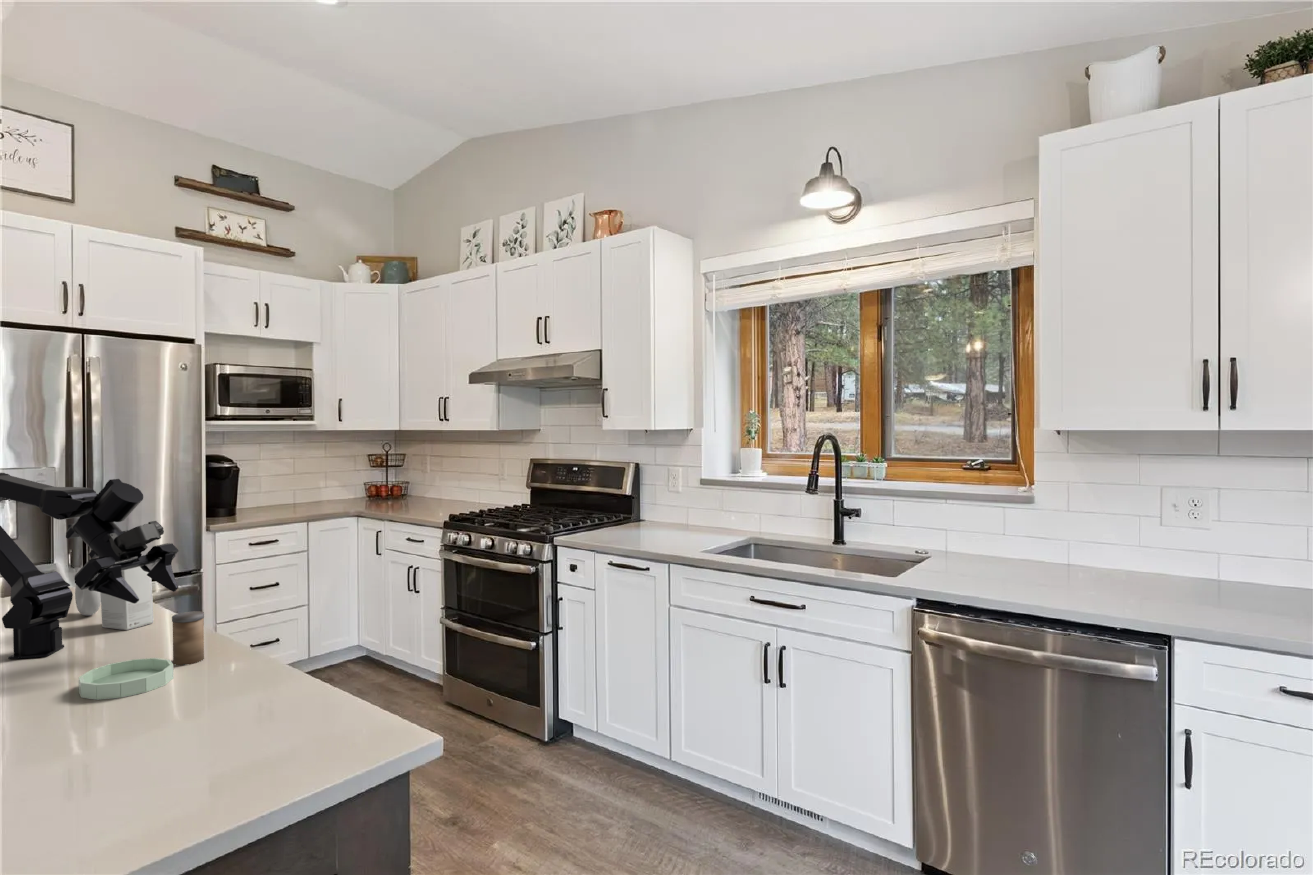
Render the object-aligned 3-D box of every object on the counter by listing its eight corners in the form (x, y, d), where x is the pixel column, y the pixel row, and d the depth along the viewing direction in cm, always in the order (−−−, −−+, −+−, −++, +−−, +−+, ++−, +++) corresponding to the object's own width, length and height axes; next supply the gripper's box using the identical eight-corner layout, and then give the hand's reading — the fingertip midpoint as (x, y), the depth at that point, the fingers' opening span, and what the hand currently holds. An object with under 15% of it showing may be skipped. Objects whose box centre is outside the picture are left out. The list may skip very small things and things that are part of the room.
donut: (103, 617, 166) (103, 575, 166) (85, 620, 164) (84, 578, 163) (91, 610, 172) (90, 569, 172) (73, 613, 170) (72, 572, 169)
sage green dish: (63, 702, 116) (62, 687, 116) (103, 675, 128) (103, 661, 128) (153, 695, 119) (153, 680, 119) (184, 669, 132) (184, 655, 132)
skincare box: (154, 623, 161) (153, 556, 161) (124, 631, 155) (123, 561, 155) (128, 620, 164) (128, 553, 164) (98, 627, 158) (97, 559, 157)
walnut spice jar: (167, 666, 133) (167, 619, 133) (179, 657, 138) (178, 612, 138) (198, 664, 134) (198, 617, 134) (208, 655, 139) (208, 610, 139)
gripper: (86, 516, 128) (142, 577, 127) (169, 504, 146) (218, 558, 145) (49, 558, 129) (104, 619, 128) (135, 541, 147) (184, 594, 146)
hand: (157, 595), depth 137 cm, fingers open, 9 cm apart
